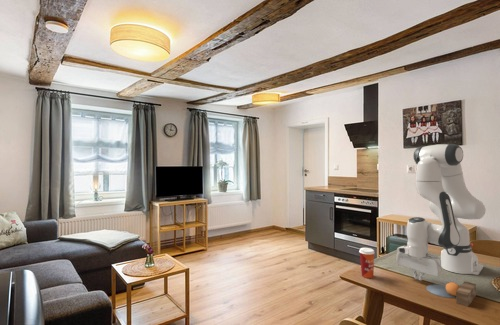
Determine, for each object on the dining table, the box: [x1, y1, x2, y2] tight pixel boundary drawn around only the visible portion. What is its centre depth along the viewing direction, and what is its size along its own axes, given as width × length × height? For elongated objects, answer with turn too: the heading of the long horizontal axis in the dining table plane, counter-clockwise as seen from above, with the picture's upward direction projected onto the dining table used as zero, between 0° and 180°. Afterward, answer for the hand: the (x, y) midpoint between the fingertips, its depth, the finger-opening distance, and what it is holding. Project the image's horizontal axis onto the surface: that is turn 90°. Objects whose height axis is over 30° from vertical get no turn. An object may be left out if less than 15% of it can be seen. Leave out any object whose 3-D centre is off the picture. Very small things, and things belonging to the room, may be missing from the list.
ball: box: [445, 281, 460, 296], centre depth 125 cm, size 6×6×6 cm
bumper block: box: [455, 281, 477, 308], centre depth 122 cm, size 14×4×5 cm, turn 131°
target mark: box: [425, 283, 456, 299], centre depth 130 cm, size 13×13×1 cm
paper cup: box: [358, 247, 376, 279], centre depth 148 cm, size 8×8×14 cm
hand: (418, 279), depth 139 cm, fingers closed
